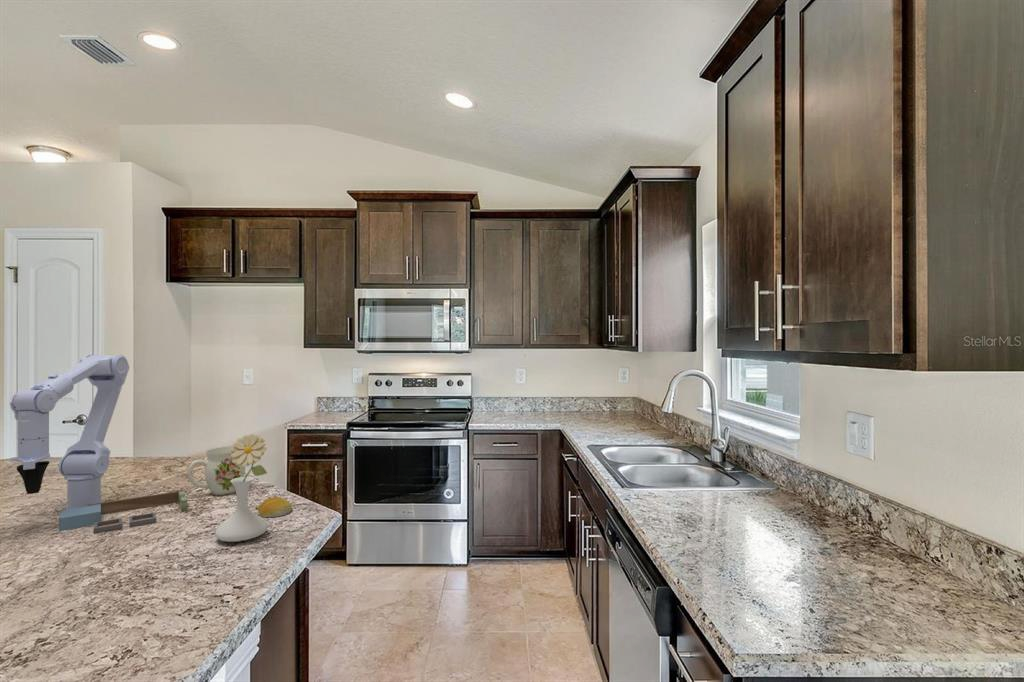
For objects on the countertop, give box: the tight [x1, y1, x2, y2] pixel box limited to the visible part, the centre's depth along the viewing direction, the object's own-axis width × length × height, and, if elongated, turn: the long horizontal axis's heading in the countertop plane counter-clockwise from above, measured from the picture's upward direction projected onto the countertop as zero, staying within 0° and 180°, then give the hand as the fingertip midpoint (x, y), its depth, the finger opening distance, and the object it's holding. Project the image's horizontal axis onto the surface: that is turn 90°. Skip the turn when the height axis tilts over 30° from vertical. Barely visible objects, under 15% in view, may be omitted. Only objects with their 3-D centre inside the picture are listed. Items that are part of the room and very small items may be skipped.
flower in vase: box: [214, 433, 270, 543], centre depth 122 cm, size 13×11×25 cm
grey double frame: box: [93, 512, 157, 535], centre depth 130 cm, size 6×12×1 cm, turn 127°
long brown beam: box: [87, 490, 188, 516], centre depth 139 cm, size 12×22×3 cm, turn 127°
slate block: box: [58, 504, 102, 532], centre depth 131 cm, size 8×8×4 cm
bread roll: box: [257, 496, 293, 518], centre depth 139 cm, size 8×9×4 cm
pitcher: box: [187, 445, 246, 496], centre depth 158 cm, size 11×18×14 cm, turn 131°
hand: (33, 492), depth 126 cm, fingers closed
